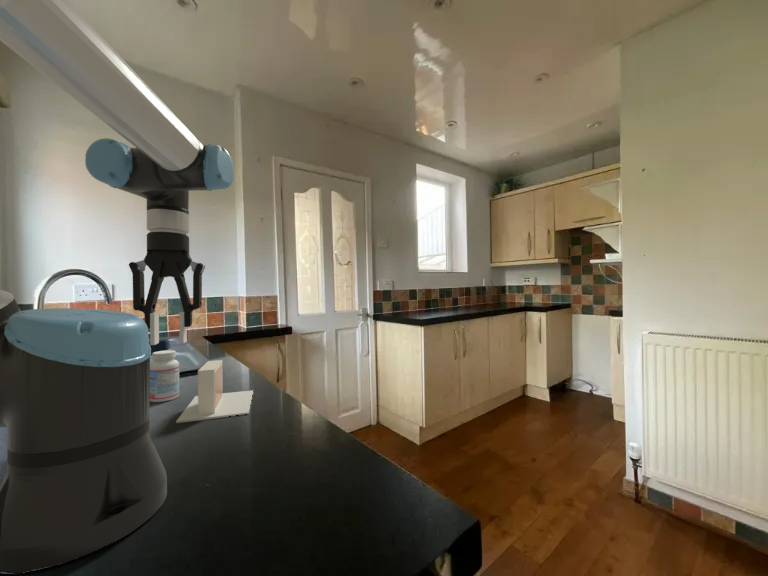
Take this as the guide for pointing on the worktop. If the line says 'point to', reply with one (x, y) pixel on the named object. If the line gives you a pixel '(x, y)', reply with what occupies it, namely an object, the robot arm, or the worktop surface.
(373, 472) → the worktop surface
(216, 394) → the cream rectangular block
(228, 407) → the mat
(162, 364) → the pill bottle
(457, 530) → the worktop surface
